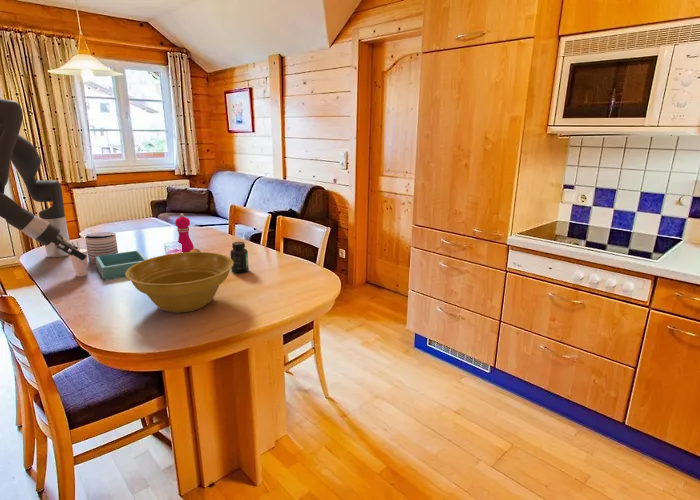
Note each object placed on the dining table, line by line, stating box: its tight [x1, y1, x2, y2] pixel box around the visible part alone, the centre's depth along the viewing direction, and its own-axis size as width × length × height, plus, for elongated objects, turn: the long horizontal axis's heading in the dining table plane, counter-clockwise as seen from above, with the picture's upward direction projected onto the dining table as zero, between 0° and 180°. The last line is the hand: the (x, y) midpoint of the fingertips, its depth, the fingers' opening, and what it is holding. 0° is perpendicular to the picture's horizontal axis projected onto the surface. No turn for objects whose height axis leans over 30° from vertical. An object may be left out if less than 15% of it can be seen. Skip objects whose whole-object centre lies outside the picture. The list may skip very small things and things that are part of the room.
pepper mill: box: [174, 213, 195, 253], centre depth 183 cm, size 7×7×20 cm
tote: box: [95, 249, 148, 281], centre depth 167 cm, size 18×16×5 cm
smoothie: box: [67, 239, 88, 277], centre depth 160 cm, size 6×6×14 cm
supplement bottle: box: [229, 241, 250, 275], centre depth 167 cm, size 7×7×12 cm
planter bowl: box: [125, 251, 234, 313], centre depth 135 cm, size 32×32×13 cm
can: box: [84, 231, 119, 265], centre depth 179 cm, size 11×11×12 cm
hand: (83, 256), depth 161 cm, fingers closed on smoothie, 6 cm apart
